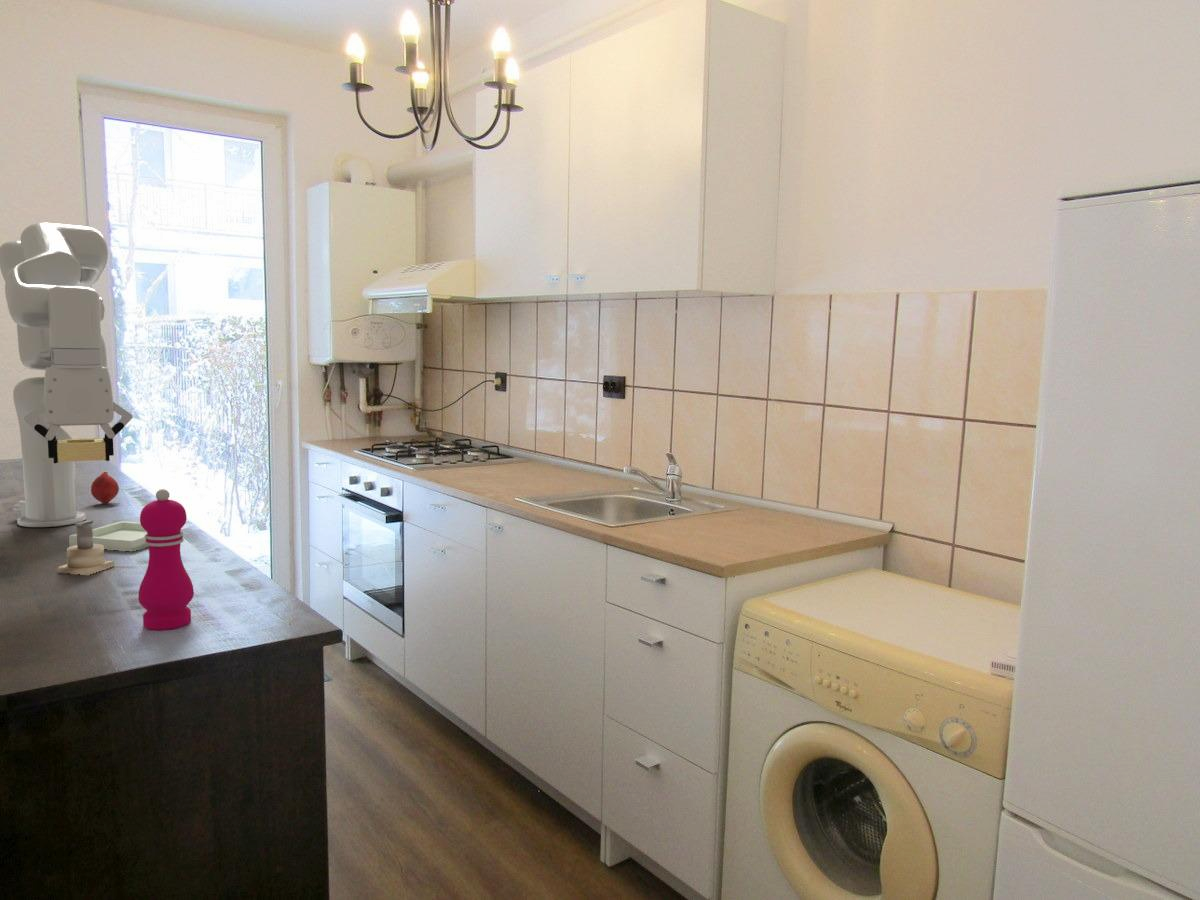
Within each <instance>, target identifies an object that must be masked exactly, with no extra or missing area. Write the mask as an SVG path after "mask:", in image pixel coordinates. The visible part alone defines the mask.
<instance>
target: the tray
mask: <svg viewBox="0 0 1200 900" xmlns="http://www.w3.org/2000/svg"><path fill="white" fill-rule="evenodd" d="M92 531H93V544H101V545H103V546H104V549H107V550H106V551H113V550H119V551H118V552H125V551H135V552H137V551H136V550H138V551H140V550H139V549H141V550H143V549H142V548H144V549H146V548H145V547H147V548H148V545H146V544H145V541H146V540H145V539H146V538H145V537H144V536H145V534H147V531H146V530H145V529H144V528H143V527H142V526H141V523H140V521H139V522H138V521H126V520H122V521H117V522H113V523H111V524H105V525H103V526H99V527H96V528H92ZM180 531H182V529H181V530H180ZM68 542H69V543H68V545H69V547H71V546H75V545H77V533H73V534H71V535H68ZM69 547H68V548H69Z"/></svg>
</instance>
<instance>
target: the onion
mask: <svg viewBox="0 0 1200 900" xmlns="http://www.w3.org/2000/svg"><path fill="white" fill-rule="evenodd" d="M119 489H120V487H119V484H118V482H117V480H115V479H114V478H113V477H112V476H110V475H108V471H107V470H105V471H102V472H101V474H100V475H99V476H97V477H96V478H95V479H94V480H93V482H92V483H91V485H90V492H91V495H92V497H93V498H94V499H95V500H97V502H100V503H102V504H103V505H105V504H107V505H108V504H109V503H110V502H111V501H112V500H113V499H115V498H116V497H117V496H118V493H119V491H120V490H119Z"/></svg>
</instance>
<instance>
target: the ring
mask: <svg viewBox="0 0 1200 900" xmlns="http://www.w3.org/2000/svg"><path fill="white" fill-rule="evenodd" d="M103 438H104V437H96V438H95V437H94V438H72V439H57V440H58V443H57V453H58V462H70V461H75V462H85V461H86V462H87V461H88V462H90V461H106V453H105V441H104V440H103Z"/></svg>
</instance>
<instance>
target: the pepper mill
mask: <svg viewBox="0 0 1200 900" xmlns="http://www.w3.org/2000/svg"><path fill="white" fill-rule="evenodd" d="M155 498H156V500H152V501H150V502H148V503H147V504H146V505H144V506H143V508H142V509H141V511H140V516H139V522H140V523H141V526H142V527H143V528H144V529H145V530H146V531H147V534H145V536H144V537H145V538H146V539H145V540H146V541H145V544H146V545H148V547H147V548H148V554H149V555H148V564H147V568H146V571H145V573H144V576H143V578H142V580H141V582H140V585H139V589H138V597H137V598H138V603H139V604H140V605H141V606H142V608H143V609H145V610H146V611H145V612H144V613H143V614H142V622H143V623H142V625H143V628H145V629H147V630H151V631H167V630H174V629H178V628H179V629H180V628H182V627H184V626H187V625H188V624H190V623H191V621H192V610H191V608H190V607H189V606H188V605H189V604H190V602H191V601H192V600H193V598H194V595H195V592H194V584H193V582H192V579H191V577H190V575H189V574H188V572H187V570H186V568H185V566H184V563H183V560H182V555H181V545H182V543H183V542H184V538H183V537H184V531H182V528H183V527H184V526H185V524H186V523H187V519H188V518H187V512H186V508H185V507H184V506H183V504H182V503H180V502H178V501H176V500H173V499H169V498H170V492H169V491H168V490H167V489H164V488H161V489H159V490H157V491H156V493H155ZM180 530H181V531H180Z"/></svg>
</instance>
